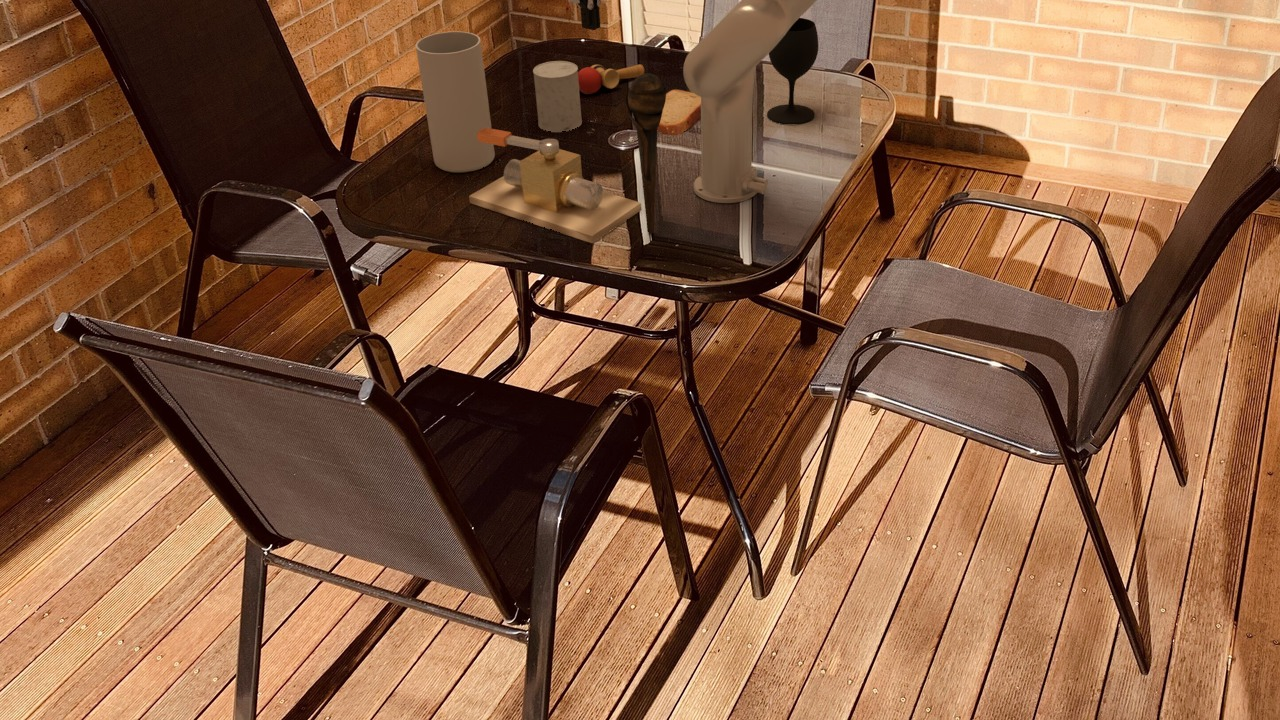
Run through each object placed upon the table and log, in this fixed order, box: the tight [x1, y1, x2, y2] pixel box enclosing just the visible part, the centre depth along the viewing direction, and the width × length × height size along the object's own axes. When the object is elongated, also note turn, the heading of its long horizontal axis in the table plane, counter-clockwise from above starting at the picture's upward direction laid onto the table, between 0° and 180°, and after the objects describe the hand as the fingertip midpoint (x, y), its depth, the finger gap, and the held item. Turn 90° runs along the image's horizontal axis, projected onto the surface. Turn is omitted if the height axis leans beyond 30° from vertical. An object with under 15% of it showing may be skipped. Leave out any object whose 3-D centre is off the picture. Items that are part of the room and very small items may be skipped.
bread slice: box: [657, 89, 701, 136], centre depth 249 cm, size 18×18×4 cm
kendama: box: [578, 64, 645, 95], centre depth 264 cm, size 8×6×18 cm
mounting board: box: [468, 175, 642, 244], centre depth 216 cm, size 30×15×2 cm, turn 54°
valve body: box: [503, 148, 604, 213], centre depth 213 cm, size 20×8×10 cm, turn 54°
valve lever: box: [477, 128, 560, 156], centre depth 212 cm, size 17×4×2 cm, turn 62°
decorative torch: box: [625, 72, 667, 235], centre depth 197 cm, size 7×7×30 cm
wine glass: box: [766, 17, 819, 125], centre depth 241 cm, size 10×10×20 cm
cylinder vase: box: [415, 30, 496, 174], centre depth 227 cm, size 12×12×25 cm
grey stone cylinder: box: [532, 60, 583, 133], centre depth 245 cm, size 10×10×12 cm
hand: (591, 27), depth 211 cm, fingers closed
